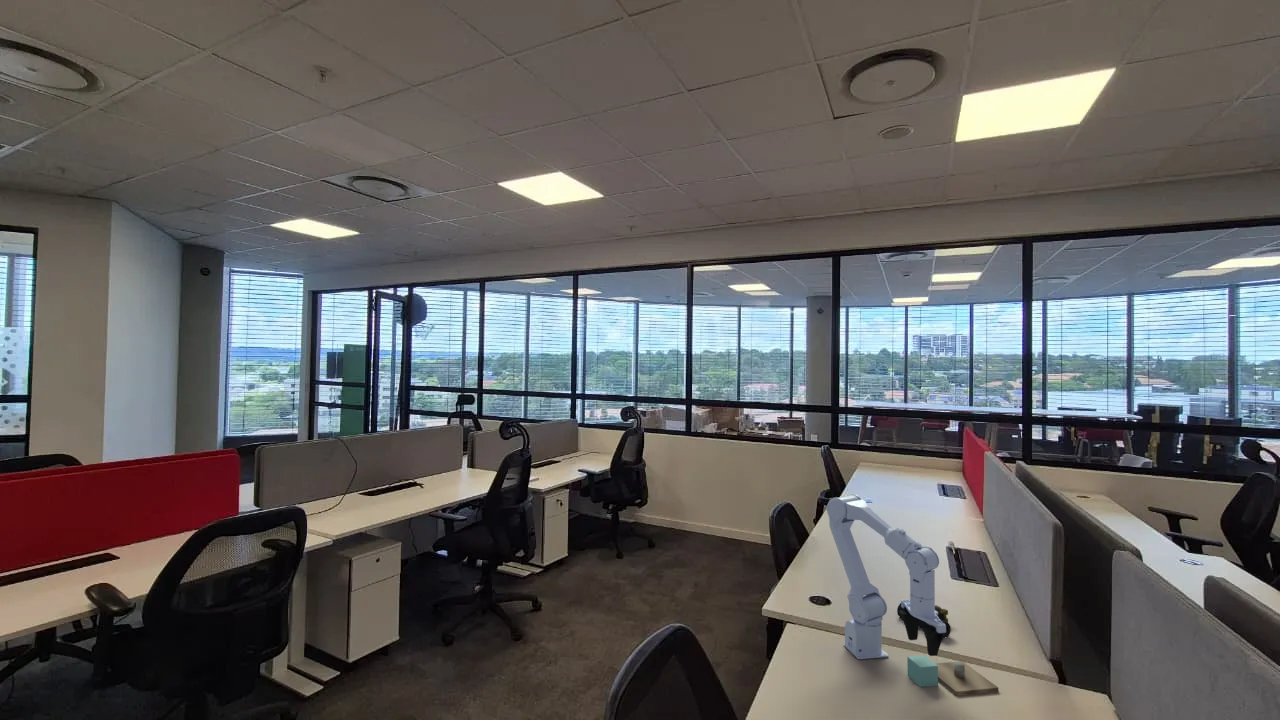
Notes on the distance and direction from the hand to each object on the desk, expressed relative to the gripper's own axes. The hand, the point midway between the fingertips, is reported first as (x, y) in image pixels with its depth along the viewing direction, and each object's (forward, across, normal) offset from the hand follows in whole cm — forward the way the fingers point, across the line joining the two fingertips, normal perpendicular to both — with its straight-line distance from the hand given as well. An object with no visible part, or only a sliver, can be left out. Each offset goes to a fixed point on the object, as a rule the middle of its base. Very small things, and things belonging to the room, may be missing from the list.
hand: (922, 647), depth 135 cm
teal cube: (+9, 0, 0) cm, 9 cm away
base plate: (+9, -1, -10) cm, 13 cm away
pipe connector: (+9, +27, -23) cm, 36 cm away
